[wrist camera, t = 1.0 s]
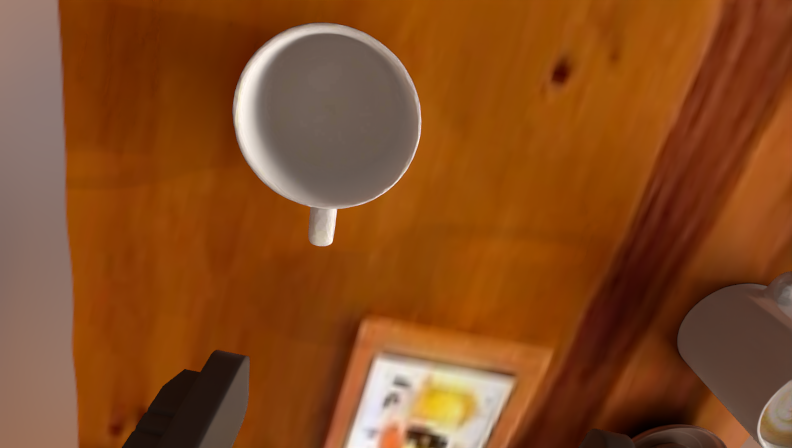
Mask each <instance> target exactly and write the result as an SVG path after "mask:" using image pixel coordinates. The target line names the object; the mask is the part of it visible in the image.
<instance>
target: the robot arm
mask: <svg viewBox="0 0 792 448" xmlns="http://www.w3.org/2000/svg"><path fill="white" fill-rule="evenodd" d="M248 391H249V357H248V356H244V355H239V354H234V353H229V352H224V351H220V350H215V351H214V352H213V353H212V354H211V356H210V357H209V359H208V361H207V362H206V364H205V366H204V367H203V369H202V371H201V372H196V371H191V370H186V369H184V370H183V371H182V372H181V373H179V374H178V375H177V376H175V377H174V378H173V379H172V380H170V381H169V382H168V383H166V384H165V385H164V386H163V387H162V388H161V390H160V391H159V393H158V394H157V396H156V397H155V399H154V400H153V402H152V403H151V405H150V406H149V408H148V411H147V413H145V414H144V415H143V417H142V418H141V420H140V421H139V423H138V424H137V426H136V429H135V431H133V432H132V433H131V435H130V436H129V438H128V439H127V441H126V442H125V444H124V445H123V447H122V448H232V446H233V443H234V441H235V439H236V436H237V434H238V432H239V430H240V427H241V425H242V422H243V419H244V416H245V413H246V409H247V404H248ZM579 448H635V445H634V443H633V441H632V440H631V438H630V437H629V436H627V435H624V434H619V433H614V432H609V431H604V430H600V429H591V430H590V431H589V432H588V434H587V435H586V437H585V438H584V440H583V441H582V443H581V444H580V446H579Z"/></svg>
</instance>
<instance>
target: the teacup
mask: <svg viewBox="0 0 792 448" xmlns="http://www.w3.org/2000/svg"><path fill="white" fill-rule="evenodd" d="M232 115H233V125H234V127H235V133H236V138H237V142H238V143H239V147H240V150H241V152H242V154H243V156H244V158H245V160H246V162H247V163H248V164H249V166H250V167H251V168H252V170H253V171H254V172H255V174H256V175H257V176H258V177H259V178H260V179H261V180H262V181H263V182H264V183H265V184H266V185H267V186H269V187H270V188H271V189H272V190H273V191H275V192H276V193H278V194H280V195H282V196H284V197H286V198H287V199H290V200H292V201H295V202H297V203H300V204H304V205H307V206H310V207H311V209H310V220H309V240H310V242H311V243H312V244H314V245H317V246H327V245H330V244H331V243H332V241H333V236H334V230H335V221H336V214H337V209H340V208H347V207H352V206H357V205H361V204H364V203H366V202H368V201H371V200H373V199H375V198H377V197H379V196H380V195H382V194H383V193H385V192H386V191H388V190H389V189H390V188H391V187H392V186H393V185H394V184H396V183H397V181H398V180H399V179H400V178H401V177H402V176H403V174H404V173H405V172H406V170H407V168H408V167H409V165H410V163H411V161H412V159H413V157H414V155H415V152H416V149H417V146H418V143H419V138H420V132H421V113H420V104H419V99H418V95H417V92H416V89H415V86H414V84H413V82H412V80H411V77H410V76H409V74H408V72H407V71H406V69H405V67H404V66H403V64H402V63H401V62H400V61H399V59H398V58H397V57H396V56H395V55H394V54H393V53H392V52H391V51H390V50H389V49H388V48H387V47H385V46H384V45H383V44H382V43H380V42H379V41H378V40H376V39H374V38H373V37H371V36H369V35H368V34H366V33H364V32H362V31H359V30H357V29H354V28H351V27H348V26H344V25H339V24H335V23H308V24H303V25H299V26H295V27H292V28H290V29H287V30H285V31H283V32H281V33H279V34H278V35H276V36H274V37H273V38H271V39H270V40H269V41H267V42H266V43H265V44H264V45H263V46H262V47H261V48H259V49H258V50H257V51H256V52H255V53H254V55H253V56H252V57H251V58H250V60H249V61H248V63H247V64H246V66H245V68H244V70H243V71H242V73H241V75H240V78H239V81H238V83H237V86H236V90H235V92H234V101H233V111H232Z"/></svg>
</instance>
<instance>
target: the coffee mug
mask: <svg viewBox="0 0 792 448" xmlns="http://www.w3.org/2000/svg"><path fill="white" fill-rule="evenodd" d="M677 345H678V350H679V353H680V355H681V357H682V358H683V359H684V361H685V362H686V363H687V364H688V365H689V366H690V368H691V369H692V370H693V371H694V372H695V373H696V374H697V375H698V376H699V378H700V379H701V380H702V381H703V382H704V383H705V384H706V385H707V387H708V388H709V389H710V390H711V391H712V392H713V393H714V394H715V396H716V397H717V398H718V399H719V400H720V401H721V402H722V403H723V404H724V406H725V407H726V408H727V409H728V410H729V411H730V412H731V413H732V415H733V416H734V417H735V418H736V419H737V420H738V421H739V422H740V424H741V425H742V426H743V427H744V428H745V429H746V430H747V431H748V433H749V434H750V435H751V436H752V437H753V438H754V439H755V440H756V441H757V443H759V445H760V446H761V447H762V448H792V272H786V273H783V274H781V275H779V276H778V277H777V278H775V279H774V280H773V281H772V282H771V283H770V284H769V286H768V287H767V286H764V285H759V284H738V285H733V286H729V287H725V288H723V289H720V290H718V291H716V292H714V293H712V294H710V295H708V296H707V297H705V298H704V299H702V300H701V301H700V302H699V303H697V304H696V305H695V306H694V307H693V308H692V309H691V310H690V311H689V313H688V314H687V315H686V317H685V318H684V320H683V322H682V324H681V326H680V329H679V332H678V337H677Z"/></svg>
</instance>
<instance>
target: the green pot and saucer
mask: <svg viewBox="0 0 792 448" xmlns="http://www.w3.org/2000/svg"><path fill="white" fill-rule="evenodd" d="M631 440H632V441H633V443H634V445H635V448H727V447H726V445H725V444H724V442H723V441H722V440H721V439H720V438H719V437H717V436H716V435H715V434H714V433H712V432H710V431H709V430H706V429H704V428H701V427H698V426H693V425H684V424H671V425H663V426H659V427H655V428H652V429H649V430H647V431H644V432H642V433H640V434H638V435H636V436H635V437H633V438H632V439H631Z"/></svg>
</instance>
